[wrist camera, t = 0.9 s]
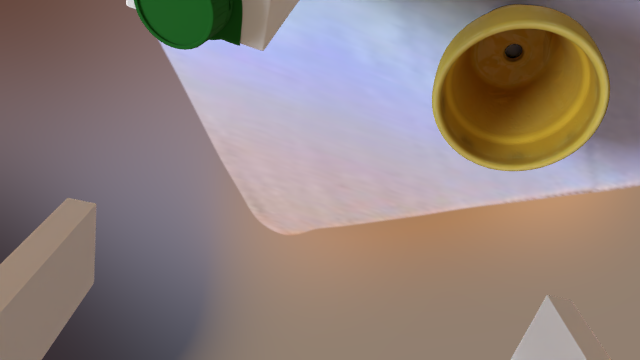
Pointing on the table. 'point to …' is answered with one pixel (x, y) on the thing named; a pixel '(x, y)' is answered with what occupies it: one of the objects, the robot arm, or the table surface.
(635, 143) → the table surface
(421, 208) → the table surface
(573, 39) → the plant pot
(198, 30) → the milk carton
